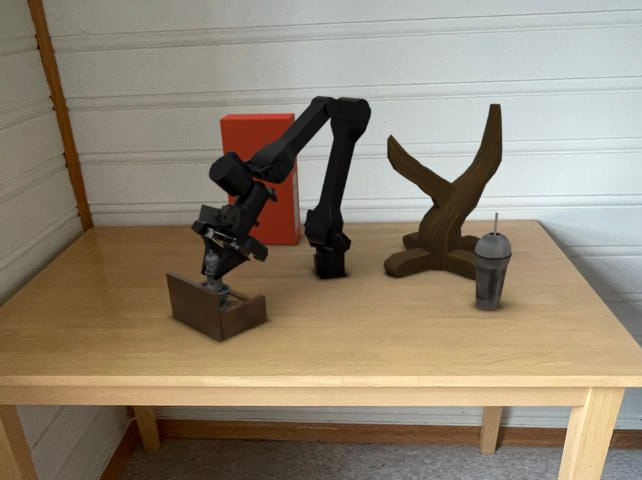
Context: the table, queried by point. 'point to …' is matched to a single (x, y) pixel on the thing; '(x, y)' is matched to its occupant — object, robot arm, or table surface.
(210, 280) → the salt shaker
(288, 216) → the file binder
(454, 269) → the wooden stand
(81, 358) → the table surface
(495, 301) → the beverage cup
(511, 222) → the table surface
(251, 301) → the spice rack
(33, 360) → the table surface
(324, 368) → the table surface
